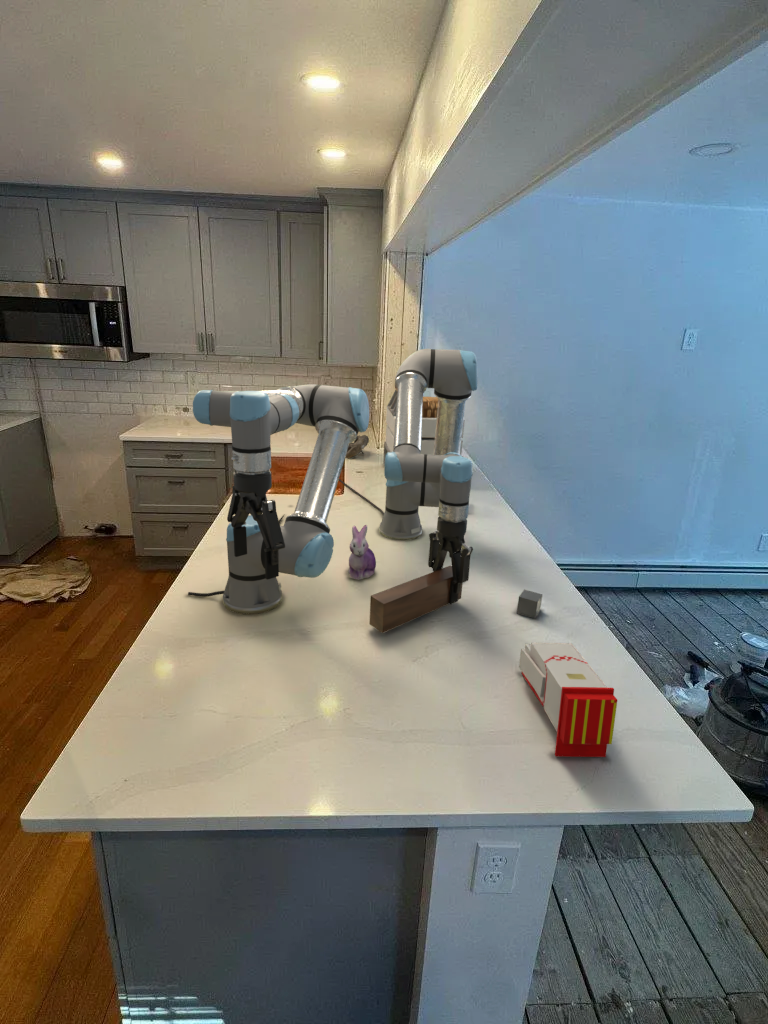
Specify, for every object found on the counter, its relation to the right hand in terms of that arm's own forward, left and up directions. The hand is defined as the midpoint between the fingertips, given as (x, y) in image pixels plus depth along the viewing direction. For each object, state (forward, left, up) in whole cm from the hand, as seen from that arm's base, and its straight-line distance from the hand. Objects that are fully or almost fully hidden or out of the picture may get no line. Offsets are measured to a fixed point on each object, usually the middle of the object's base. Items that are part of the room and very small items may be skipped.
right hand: (445, 597), depth 153 cm
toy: (+43, -13, -2) cm, 45 cm away
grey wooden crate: (-98, +85, -2) cm, 129 cm away
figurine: (-28, -7, -2) cm, 29 cm away
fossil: (-143, +81, -2) cm, 164 cm away
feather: (-81, -2, -2) cm, 81 cm away
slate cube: (+16, +15, -2) cm, 22 cm away
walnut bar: (0, -10, 0) cm, 10 cm away
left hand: (-10, -51, +20) cm, 55 cm away
